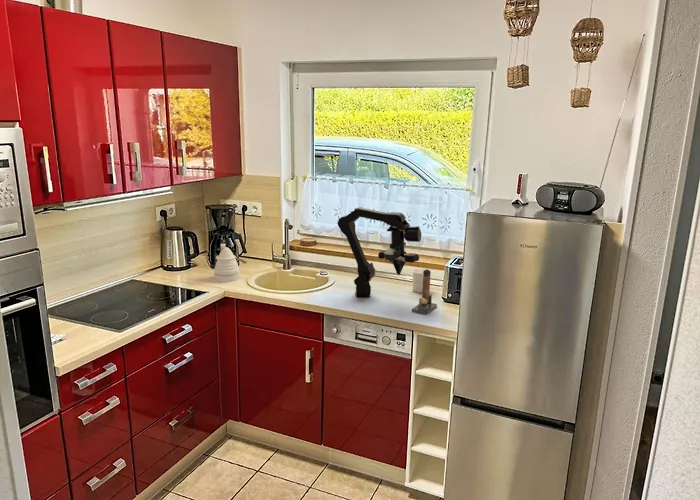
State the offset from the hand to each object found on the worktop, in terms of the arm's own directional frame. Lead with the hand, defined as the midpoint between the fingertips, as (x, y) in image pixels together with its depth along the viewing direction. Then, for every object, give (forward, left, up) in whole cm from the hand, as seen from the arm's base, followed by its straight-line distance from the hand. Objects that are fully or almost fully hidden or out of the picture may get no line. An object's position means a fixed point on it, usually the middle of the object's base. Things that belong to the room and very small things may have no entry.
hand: (398, 274), depth 239 cm
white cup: (+14, +14, -13) cm, 24 cm away
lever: (+11, -10, -10) cm, 17 cm away
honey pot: (-82, +38, -13) cm, 92 cm away
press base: (+10, -11, -13) cm, 20 cm away
